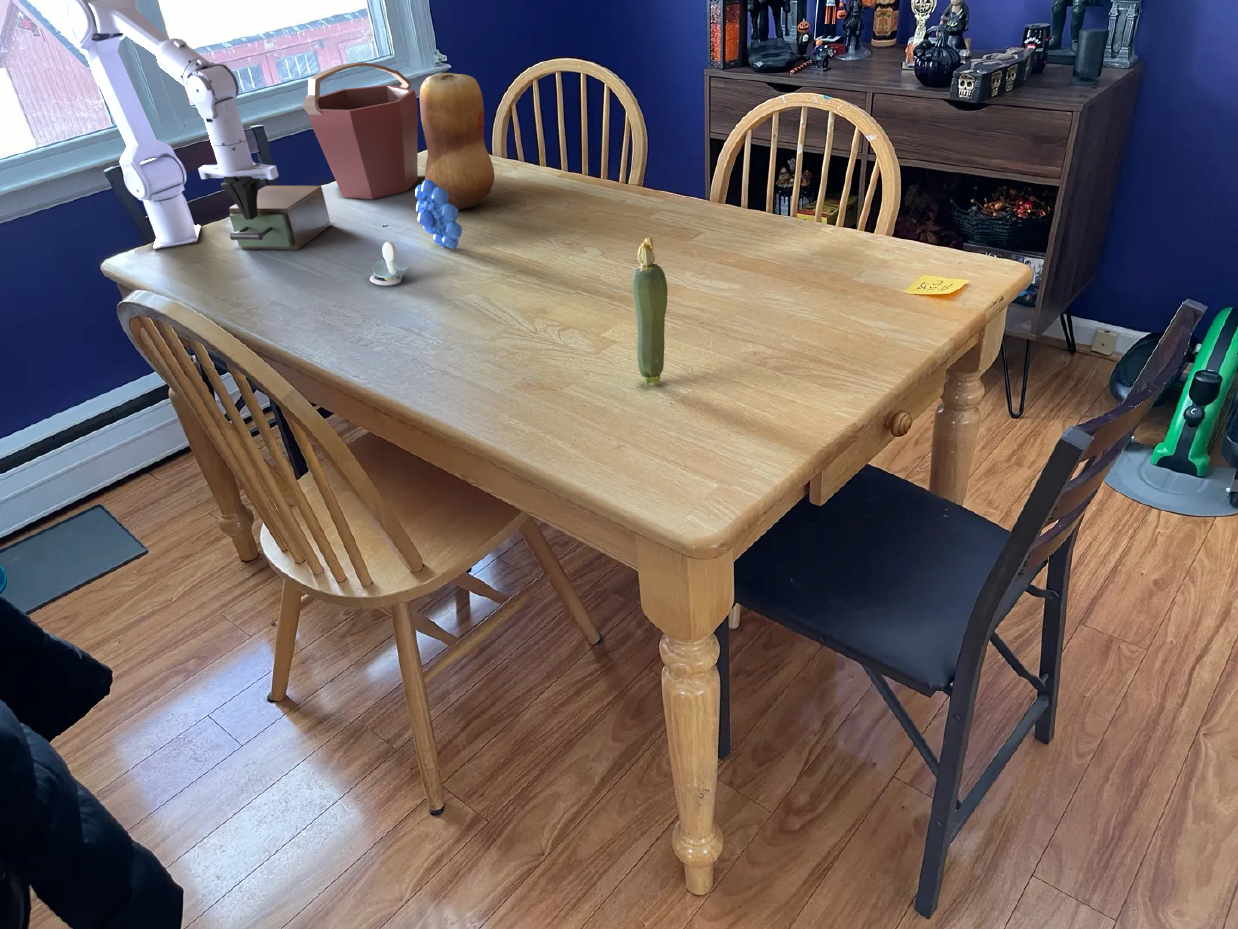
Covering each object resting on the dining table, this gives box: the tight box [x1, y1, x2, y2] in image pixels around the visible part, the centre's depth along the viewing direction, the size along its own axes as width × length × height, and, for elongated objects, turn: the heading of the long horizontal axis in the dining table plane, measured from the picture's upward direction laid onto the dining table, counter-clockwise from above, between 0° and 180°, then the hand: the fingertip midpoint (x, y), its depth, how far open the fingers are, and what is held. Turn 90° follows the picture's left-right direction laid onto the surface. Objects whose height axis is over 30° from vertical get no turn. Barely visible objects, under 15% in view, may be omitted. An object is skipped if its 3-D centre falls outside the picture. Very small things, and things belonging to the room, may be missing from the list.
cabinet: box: [228, 185, 332, 250], centre depth 177 cm, size 13×12×8 cm
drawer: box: [229, 212, 294, 247], centre depth 174 cm, size 17×11×6 cm, turn 167°
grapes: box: [414, 179, 463, 250], centre depth 164 cm, size 12×7×12 cm, turn 45°
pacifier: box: [369, 241, 412, 287], centre depth 155 cm, size 7×6×6 cm
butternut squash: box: [419, 72, 495, 211], centre depth 179 cm, size 14×13×25 cm
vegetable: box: [631, 236, 669, 387], centre depth 115 cm, size 4×4×20 cm
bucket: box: [301, 61, 419, 200], centre depth 195 cm, size 24×22×25 cm
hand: (251, 217), depth 168 cm, fingers closed
